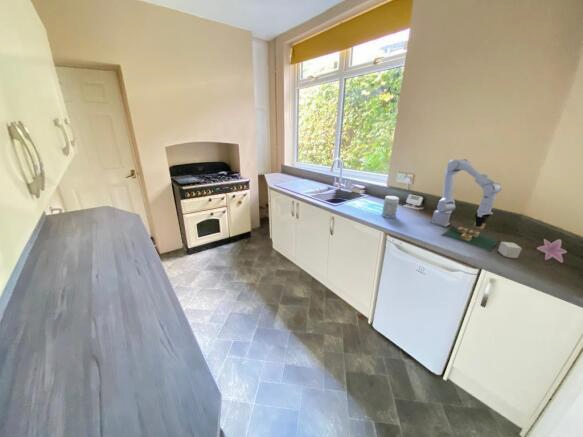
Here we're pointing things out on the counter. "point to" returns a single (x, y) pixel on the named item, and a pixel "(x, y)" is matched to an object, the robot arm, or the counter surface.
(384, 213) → the supplement tub
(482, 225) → the letter s
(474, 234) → the letter t
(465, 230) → the letter i
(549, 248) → the lily
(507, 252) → the white cube
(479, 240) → the word mat
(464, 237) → the letter o
